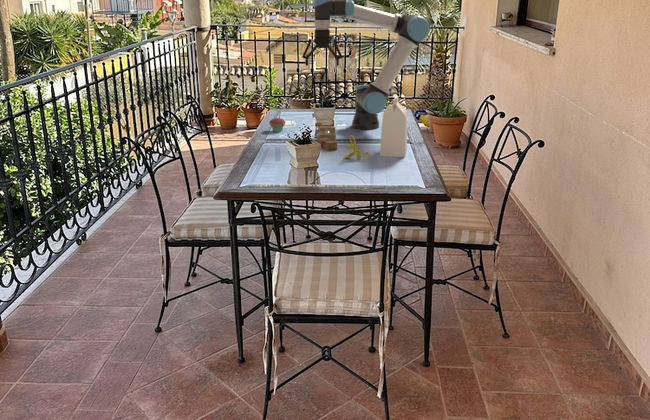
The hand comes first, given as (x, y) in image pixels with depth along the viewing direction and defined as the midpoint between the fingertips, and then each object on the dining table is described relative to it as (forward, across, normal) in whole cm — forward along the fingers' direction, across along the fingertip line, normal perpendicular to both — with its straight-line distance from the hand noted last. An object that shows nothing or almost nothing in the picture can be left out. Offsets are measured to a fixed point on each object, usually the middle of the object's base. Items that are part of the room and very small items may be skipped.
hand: (322, 72), depth 293 cm
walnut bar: (+32, +3, -29) cm, 44 cm away
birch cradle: (+32, +3, -14) cm, 35 cm away
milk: (+32, +34, -38) cm, 60 cm away
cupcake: (+32, -24, +5) cm, 40 cm away
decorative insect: (+32, +16, -49) cm, 61 cm away
